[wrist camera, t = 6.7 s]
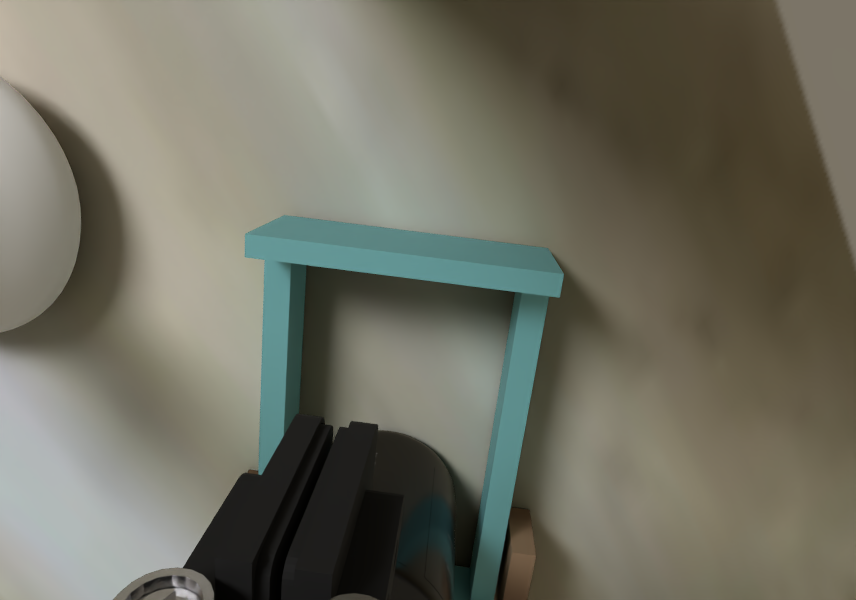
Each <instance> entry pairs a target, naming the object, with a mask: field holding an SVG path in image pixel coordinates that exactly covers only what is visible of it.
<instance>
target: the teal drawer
mask: <svg viewBox="0 0 856 600" xmlns="http://www.w3.org/2000/svg"><path fill="white" fill-rule="evenodd" d="M245 257H247V258H255V259H263V260H265V268H264V301H263V335H262V369H261V403H260V437H259V471H258V474H259V475H262V473H263V471H264V469H265V468H266V466H267V464H268V462H269V461H270V459H271V457H272V455H273V454H274V452H275V450H276V448H277V447H278V445H279V443H280V441H281V440H282V438H283V436H284V434H285V432H286V431H287V429H288V427H289V425H290V424H291V422H292V420H293V418H294V417H295V415H296V414H299V402H300V383H301V363H302V344H303V325H304V305H305V286H306V267H307V265H310V266H317V267H325V268H333V269H341V270H349V271H356V272H364V273H372V274H380V275H387V276H395V277H403V278H411V279H419V280H426V281H434V282H442V283H450V284H458V285H465V286H473V287H481V288H489V289H497V290H504V291H512V292H515V296H514V302H513V308H512V314H511V320H510V326H509V332H508V338H507V344H506V351H505V357H504V363H503V369H502V375H501V381H500V387H499V393H498V399H497V406H496V412H495V418H494V424H493V430H492V436H491V442H490V448H489V454H488V461H487V467H486V473H485V479H484V485H483V491H482V497H481V503H480V509H479V515H478V522H477V528H476V534H475V540H474V546H473V552H472V558H471V564H470V568H468V567H461V566H455V574H454V600H494V596H495V591H496V585H497V580H498V574H499V569H500V563H501V558H502V552H503V547H504V541H505V536H506V530H507V525H508V519H509V514H510V508H511V503H512V497H513V492H514V486H515V481H516V475H517V470H518V464H519V459H520V453H521V448H522V442H523V437H524V431H525V426H526V420H527V415H528V410H529V404H530V399H531V393H532V388H533V382H534V377H535V371H536V366H537V360H538V355H539V349H540V344H541V338H542V333H543V327H544V322H545V316H546V311H547V305H548V300H549V296H551V297H559V298H560V293H561V288H562V283H563V277H564V273H563V272H562V270H561V268H560V267H559V265H558V264H557V262H556V260H555V259H554V257H553V255H552V254H551V252H550V251H549V249H548V248H542V247H534V246H526V245H518V244H510V243H502V242H494V241H486V240H478V239H470V238H462V237H454V236H446V235H438V234H430V233H422V232H414V231H406V230H398V229H390V228H382V227H374V226H366V225H358V224H350V223H343V222H335V221H327V220H319V219H311V218H303V217H295V216H287V215H284V216H282V217H280V218H278V219H275V220H273V221H271V222H269V223H267V224H265V225H263V226H261V227H259V228H256V229H254V230H252V231H250V232H248V233H246V234H245Z"/></svg>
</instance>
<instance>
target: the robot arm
mask: <svg viewBox="0 0 856 600" xmlns="http://www.w3.org/2000/svg"><path fill="white" fill-rule="evenodd" d="M377 435H378V425H377V424H370V423H362V422H355V421H351V423H350V425H349V428H346V427H340V428H339V430H338V432H337V435H336V437H335V440H334V442H333V444H332V440H333V426H331V425H325V421H324V418H323V417H318V416H310V415H303V414H296V415H295V417H294V418H293V420H292V422H291V424H290V425H289V427H288V429H287V431H286V432H285V434H284V436H283V438H282V440H281V441H280V443H279V445H278V447H277V448H276V450H275V452H274V454H273V455H272V457H271V459H270V461H269V462H268V464H267V466H266V468H265V469H264V471H263V473H262V475H259V474H251V473H244V474H242V475H241V476H240V477H239V479H238V480H237V482H236V483H235V485H234V487H233V488H232V490H231V491H230V493H229V495H228V496H227V498H226V499H225V501H224V503H223V504H222V506H221V507H220V509H219V511H218V512H217V514H216V515H215V517H214V519H213V520H212V522H211V524H210V525H209V527H208V528H207V530H206V532H205V533H204V535H203V536H202V538H201V540H200V541H199V543H198V544H197V546H196V548H195V549H194V551H193V552H192V554H191V556H190V557H189V559H188V560H187V562H186V564H185V565H184V567H183V568H169V569H161V570H158V571H155V572H151V573H148V574H146V575H144V576H142V577H140V578H138V579H136V580H135V581H133V582H131V583H130V584H129V585H128V586H127V587H125V588H124V589H123V590H122V591H121V592H120V593H119V594H118V595H117V596H116V597H115V598H114V599H113V600H390V597H391V591H392V585H393V579H394V573H395V567H396V560H397V554H398V546H399V539H400V531H401V523H402V514H403V506H404V495H402V494H395V493H388V492H381V491H373V490H372V489H373V478H374V468H375V457H376V446H377Z"/></svg>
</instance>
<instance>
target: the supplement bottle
mask: <svg viewBox="0 0 856 600" xmlns="http://www.w3.org/2000/svg"><path fill="white" fill-rule="evenodd" d="M372 490H373V491H381V492H388V493H395V494H402V495H404V506H403V514H402V523H401V531H400V539H399V546H398V554H397V560H396V567H395V573H394V579H393V585H392V591H391V597H390V600H454V574H455V530H456V497H455V489H454V484H453V481H452V478H451V475H450V473H449V471H448V469H447V467H446V466H445V464H444V463H443V461H442V460H441V459H440V458H439V457H438V456H437V454H436V453H435V452H434V451H432V450H431V449H430V448H429V447H427V446H426V445H425V444H423V443H422V442H420V441H418V440H416V439H414V438H412V437H410V436H407V435H404V434H401V433H397V432H392V431H384V430H378V435H377V446H376V457H375V468H374V478H373V489H372Z"/></svg>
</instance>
